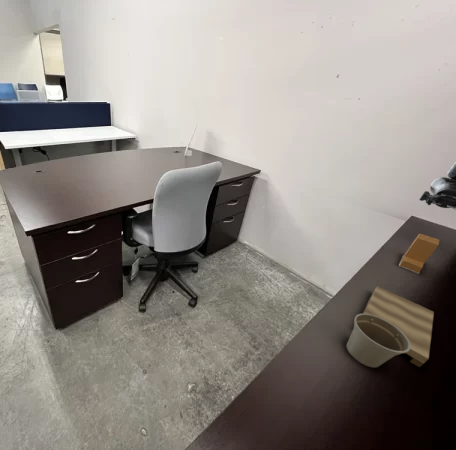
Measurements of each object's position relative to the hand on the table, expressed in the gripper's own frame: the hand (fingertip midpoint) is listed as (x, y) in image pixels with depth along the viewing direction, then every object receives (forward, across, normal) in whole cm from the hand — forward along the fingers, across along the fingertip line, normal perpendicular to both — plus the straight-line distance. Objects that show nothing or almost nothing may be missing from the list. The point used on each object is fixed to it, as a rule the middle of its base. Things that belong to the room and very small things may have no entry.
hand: (447, 207), depth 85 cm
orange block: (+13, 0, +20) cm, 24 cm away
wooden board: (+55, -1, +19) cm, 58 cm away
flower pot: (+71, -4, +19) cm, 73 cm away
